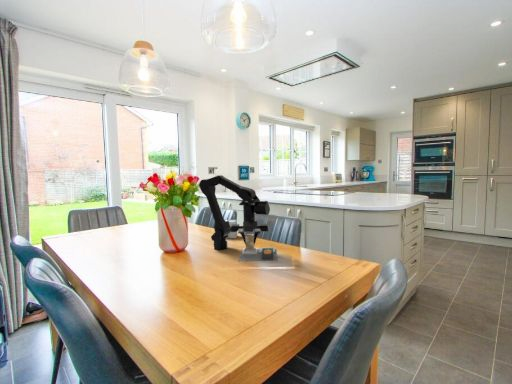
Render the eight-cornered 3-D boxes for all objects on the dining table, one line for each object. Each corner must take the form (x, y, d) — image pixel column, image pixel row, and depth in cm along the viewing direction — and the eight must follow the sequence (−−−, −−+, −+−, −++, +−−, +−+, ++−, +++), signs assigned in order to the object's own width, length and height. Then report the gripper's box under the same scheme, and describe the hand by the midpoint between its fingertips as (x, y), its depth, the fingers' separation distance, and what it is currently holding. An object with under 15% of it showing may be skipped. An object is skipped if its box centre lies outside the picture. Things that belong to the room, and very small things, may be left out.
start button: (263, 258, 122) (263, 251, 122) (264, 255, 125) (263, 249, 125) (271, 258, 122) (271, 251, 121) (271, 255, 125) (271, 249, 125)
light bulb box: (237, 235, 171) (237, 219, 170) (235, 238, 164) (235, 221, 164) (221, 235, 172) (220, 219, 171) (219, 238, 166) (218, 221, 165)
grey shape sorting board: (238, 263, 120) (238, 255, 120) (242, 251, 138) (242, 244, 138) (277, 262, 119) (277, 255, 119) (276, 250, 137) (276, 244, 137)
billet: (245, 249, 131) (245, 235, 130) (246, 247, 135) (246, 233, 134) (253, 249, 131) (253, 235, 130) (254, 247, 135) (253, 233, 134)
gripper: (228, 217, 124) (229, 249, 125) (267, 216, 123) (268, 249, 124) (231, 213, 135) (232, 243, 136) (267, 212, 134) (268, 242, 135)
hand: (250, 244), depth 133 cm, fingers closed on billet, 4 cm apart
